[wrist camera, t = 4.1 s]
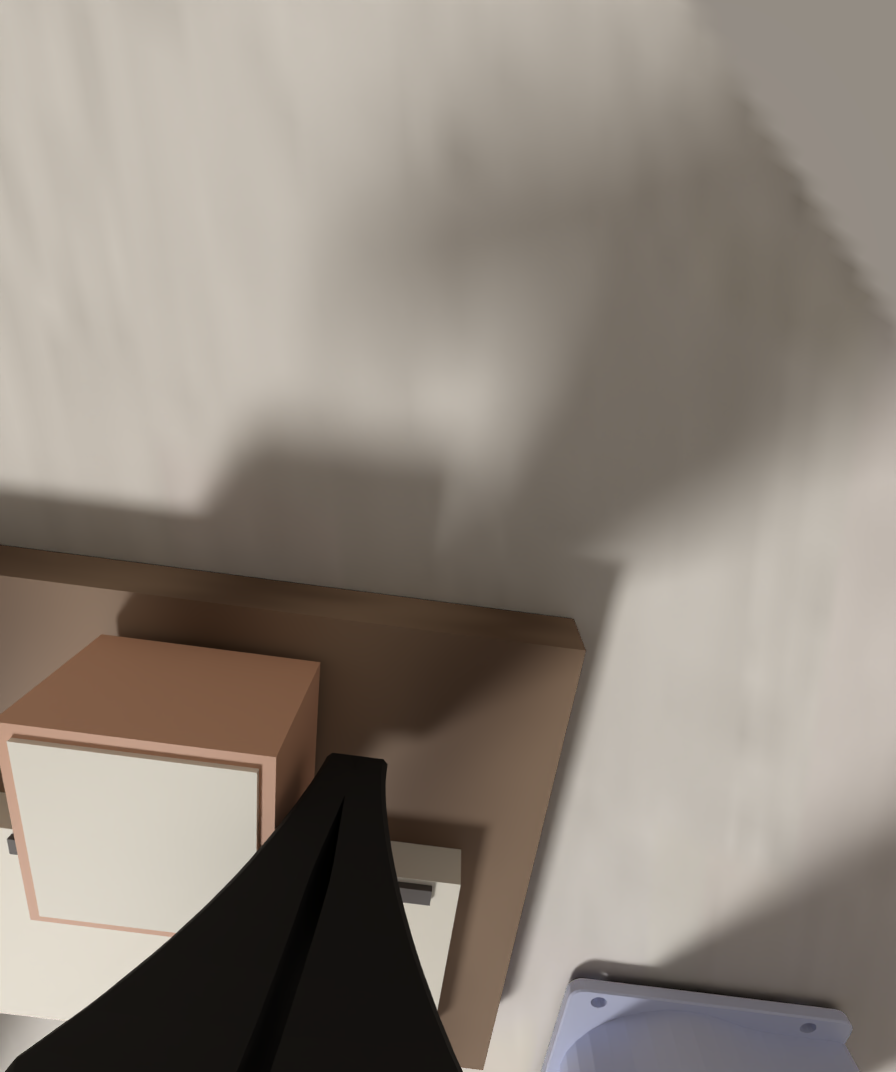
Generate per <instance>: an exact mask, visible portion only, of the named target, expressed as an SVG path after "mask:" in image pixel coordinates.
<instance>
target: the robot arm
mask: <svg viewBox="0 0 896 1072" xmlns="http://www.w3.org/2000/svg"><path fill="white" fill-rule="evenodd" d="M387 766H388V764H387V763H386V762H385V760H384V759H378V758H371V757H363V756H355V755H347V754H339V753H331V754H330V755H328V756H327V757H326V759H325V761H324V763H323V764H322V766H321V768H320V769H319V771H318V772H317V774H316V775H315V777H314V778H313V780H312V781H311V783H310V784H309V786H308V787H307V789H306V790H305V791H304V793H303V794H302V796H301V797H300V798H299V800H298V801H297V802H296V804H295V805H294V806H293V808H292V809H291V810H290V811H289V813H288V814H287V815H286V817H285V818H284V819H283V821H282V822H281V823H280V824H279V826H278V827H277V828H276V829H275V831H274V832H273V833H272V834H271V835H270V837H269V838H268V839H267V840H266V841H265V842H264V844H263V845H262V846H261V847H260V848H259V849H258V850H257V852H256V853H255V854H254V855H253V856H252V857H251V859H250V860H249V861H248V862H247V863H246V864H245V865H244V866H243V868H242V869H241V870H240V871H239V872H238V873H237V874H236V875H235V876H234V877H233V878H232V879H231V880H230V881H229V882H228V883H227V884H226V886H225V887H224V888H223V889H222V890H221V891H220V892H219V893H218V894H217V895H216V896H215V897H214V898H213V899H212V900H211V901H210V902H209V903H208V904H207V905H206V906H204V907H203V908H202V909H201V910H200V911H199V912H198V913H197V914H196V915H195V916H194V917H193V918H192V919H191V920H190V921H188V922H187V923H186V924H185V925H184V926H183V927H182V928H181V929H180V930H179V931H178V932H177V933H176V934H174V935H173V936H172V937H171V938H170V939H169V940H168V941H167V942H165V943H164V944H163V945H162V946H161V947H160V948H159V949H157V950H156V951H155V952H154V953H153V954H152V955H150V956H149V957H148V958H147V959H145V960H144V961H143V962H142V963H141V964H139V965H138V966H137V967H136V968H134V969H133V970H132V971H131V972H129V973H128V974H127V975H126V976H125V977H123V978H122V979H121V980H120V981H118V982H117V983H116V984H115V985H114V986H112V987H111V988H110V989H109V990H107V991H106V992H105V993H104V994H102V995H101V996H100V997H99V998H97V999H96V1000H95V1001H93V1002H92V1003H91V1004H89V1005H88V1006H87V1007H85V1008H84V1009H83V1010H81V1011H80V1012H79V1013H77V1014H76V1015H74V1016H73V1017H72V1018H70V1019H69V1020H67V1021H66V1022H65V1023H63V1024H62V1025H61V1026H59V1027H58V1028H56V1029H55V1030H54V1031H52V1032H51V1033H50V1034H48V1035H47V1036H45V1037H44V1038H43V1039H41V1040H40V1041H39V1042H37V1043H36V1044H34V1045H33V1046H32V1047H30V1048H29V1049H27V1050H26V1051H25V1052H23V1053H22V1054H20V1055H19V1056H18V1057H16V1059H15V1060H14V1061H13V1062H12V1063H11V1065H10V1066H9V1067H8V1068H7V1070H6V1071H5V1072H463V1071H462V1069H461V1067H460V1064H459V1062H458V1060H457V1057H456V1055H455V1053H454V1051H453V1048H452V1046H451V1043H450V1041H449V1038H448V1036H447V1033H446V1031H445V1028H444V1026H443V1024H442V1021H441V1019H440V1016H439V1014H438V1011H437V1008H436V1005H435V1002H434V1000H433V997H432V994H431V991H430V989H429V986H428V983H427V980H426V977H425V975H424V972H423V969H422V966H421V963H420V960H419V957H418V954H417V951H416V947H415V944H414V941H413V938H412V934H411V931H410V927H409V924H408V920H407V916H406V913H405V909H404V905H403V901H402V897H401V893H400V888H399V884H398V879H397V874H396V870H395V865H394V859H393V854H392V848H391V841H390V834H389V827H388V819H387V808H386V774H387ZM852 1029H853V1027H852V1025H851V1023H850V1021H849V1019H848V1018H847V1016H846V1014H845V1013H844V1012H842V1011H840V1010H837V1009H831V1008H823V1007H815V1006H807V1005H798V1004H790V1003H782V1002H774V1001H766V1000H758V999H749V998H741V997H733V996H725V995H717V994H709V993H701V992H692V991H684V990H676V989H668V988H660V987H652V986H643V985H635V984H627V983H619V982H611V981H603V980H594V979H586V978H578V979H574V980H573V981H571V982H570V983H569V984H568V986H567V988H566V991H565V994H564V998H563V1001H562V1004H561V1007H560V1011H559V1014H558V1017H557V1021H556V1024H555V1027H554V1030H553V1034H552V1037H551V1040H550V1043H549V1047H548V1050H547V1053H546V1056H545V1060H544V1063H543V1066H542V1069H541V1072H860V1071H859V1069H858V1067H857V1065H856V1063H855V1061H854V1060H853V1058H852V1056H851V1054H850V1052H849V1050H848V1048H847V1047H846V1045H845V1043H846V1041H847V1039H848V1038H849V1036H850V1035H851V1032H852Z"/></svg>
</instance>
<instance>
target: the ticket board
mask: <svg viewBox="0 0 896 1072" xmlns="http://www.w3.org/2000/svg"><path fill="white" fill-rule="evenodd" d="M101 634H104V635H112V636H119V637H127V638H135V639H143V640H151V641H159V642H166V643H174V644H182V645H190V646H198V647H206V648H213V649H221V650H229V651H237V652H245V653H253V654H260V655H268V656H276V657H284V658H292V659H300V660H307V661H315V662H320V678H319V697H318V716H317V735H316V755H315V774H314V777H315V775H316V774H317V772H318V771H319V769H320V768H321V766H322V764H323V763H324V761H325V759H326V757H327V756H328V755H330V754H331V753H339V754H347V755H355V756H363V757H371V758H378V759H384V760H385V762H386V763H387V764H388V766H387V774H386V808H387V819H388V827H389V834H390V841H391V848H392V854H393V859H394V865H395V870H396V874H397V879H398V884H399V888H400V893H401V897H402V901H403V905H404V909H405V913H406V916H407V920H408V924H409V927H410V931H411V934H412V938H413V941H414V944H415V947H416V951H417V954H418V957H419V960H420V963H421V966H422V969H423V972H424V975H425V977H426V980H427V983H428V986H429V989H430V991H431V994H432V997H433V1000H434V1002H435V1005H436V1008H437V1011H438V1014H439V1016H440V1019H441V1021H442V1024H443V1026H444V1028H445V1031H446V1033H447V1036H448V1038H449V1041H450V1043H451V1046H452V1048H453V1051H454V1053H455V1055H456V1057H457V1060H458V1062H459V1064H460V1067H462V1068H471V1069H479V1070H483V1068H484V1064H485V1060H486V1056H487V1052H488V1048H489V1044H490V1039H491V1035H492V1031H493V1027H494V1023H495V1019H496V1015H497V1011H498V1007H499V1003H500V999H501V995H502V991H503V986H504V982H505V978H506V974H507V970H508V966H509V962H510V958H511V954H512V950H513V946H514V942H515V938H516V934H517V929H518V925H519V921H520V917H521V913H522V909H523V905H524V901H525V897H526V893H527V889H528V885H529V881H530V877H531V872H532V868H533V864H534V860H535V856H536V852H537V848H538V844H539V840H540V836H541V832H542V828H543V824H544V819H545V815H546V811H547V807H548V803H549V799H550V795H551V791H552V787H553V783H554V779H555V775H556V771H557V767H558V762H559V758H560V754H561V750H562V746H563V742H564V738H565V734H566V730H567V726H568V722H569V718H570V714H571V709H572V705H573V701H574V697H575V693H576V689H577V685H578V681H579V677H580V673H581V669H582V665H583V661H584V657H585V652H586V649H585V647H584V644H583V642H582V639H581V637H580V634H579V631H578V629H577V626H576V624H575V621H574V619H570V618H562V617H554V616H546V615H539V614H531V613H523V612H515V611H508V610H500V609H492V608H484V607H477V606H469V605H461V604H453V603H446V602H438V601H430V600H422V599H415V598H407V597H399V596H391V595H384V594H376V593H368V592H360V591H353V590H345V589H337V588H329V587H322V586H314V585H306V584H298V583H291V582H283V581H275V580H267V579H260V578H252V577H244V576H236V575H229V574H221V573H213V572H205V571H198V570H190V569H182V568H174V567H167V566H159V565H151V564H143V563H136V562H128V561H120V560H112V559H105V558H97V557H89V556H81V555H74V554H66V553H58V552H50V551H43V550H35V549H27V548H19V547H12V546H4V545H0V714H1V713H3V712H4V711H5V710H6V709H8V708H9V707H10V706H11V705H13V704H14V703H15V702H17V701H18V700H19V699H20V698H22V697H23V696H24V695H25V694H27V693H28V692H29V691H30V690H32V689H33V688H34V687H36V686H37V685H38V684H39V683H41V682H42V681H43V680H44V679H46V678H47V677H48V676H49V675H51V674H52V673H53V672H55V671H56V670H57V669H58V668H60V667H61V666H62V665H63V664H65V663H66V662H67V661H68V660H70V659H71V658H72V657H73V656H75V655H76V654H77V653H79V652H80V651H81V650H82V649H84V648H85V647H86V646H87V645H89V644H90V643H91V642H92V641H94V640H95V639H96V638H98V637H99V636H100V635H101ZM170 938H171V937H167V936H159V935H151V934H143V933H135V932H127V931H118V930H110V929H102V928H94V927H86V926H78V925H69V924H61V923H53V922H45V921H37V920H31V919H30V914H29V909H28V904H27V899H26V894H25V889H24V884H23V879H22V874H21V869H20V864H19V859H18V854H17V849H16V844H15V839H14V834H13V829H12V824H11V818H10V813H9V808H8V803H7V798H6V793H5V788H4V783H3V778H2V773H1V768H0V1013H4V1014H12V1015H21V1016H29V1017H37V1018H46V1019H54V1020H62V1021H67V1020H69V1019H70V1018H72V1017H73V1016H74V1015H76V1014H77V1013H79V1012H80V1011H81V1010H83V1009H84V1008H85V1007H87V1006H88V1005H89V1004H91V1003H92V1002H93V1001H95V1000H96V999H97V998H99V997H100V996H101V995H102V994H104V993H105V992H106V991H107V990H109V989H110V988H111V987H112V986H114V985H115V984H116V983H117V982H118V981H120V980H121V979H122V978H123V977H125V976H126V975H127V974H128V973H129V972H131V971H132V970H133V969H134V968H136V967H137V966H138V965H139V964H141V963H142V962H143V961H144V960H145V959H147V958H148V957H149V956H150V955H152V954H153V953H154V952H155V951H156V950H157V949H159V948H160V947H161V946H162V945H163V944H164V943H165V942H167V941H168V940H169V939H170Z"/></svg>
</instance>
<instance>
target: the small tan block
mask: <svg viewBox="0 0 896 1072" xmlns="http://www.w3.org/2000/svg"><path fill="white" fill-rule="evenodd" d="M319 678H320V662H315V661H307V660H300V659H292V658H284V657H276V656H268V655H260V654H253V653H245V652H237V651H229V650H221V649H213V648H206V647H198V646H190V645H182V644H174V643H166V642H159V641H151V640H143V639H135V638H127V637H119V636H112V635H104V634H101V635H100V636H99V637H98V638H96V639H95V640H94V641H92V642H91V643H90V644H89V645H87V646H86V647H85V648H84V649H82V650H81V651H80V652H79V653H77V654H76V655H75V656H73V657H72V658H71V659H70V660H68V661H67V662H66V663H65V664H63V665H62V666H61V667H60V668H58V669H57V670H56V671H55V672H53V673H52V674H51V675H49V676H48V677H47V678H46V679H44V680H43V681H42V682H41V683H39V684H38V685H37V686H36V687H34V688H33V689H32V690H30V691H29V692H28V693H27V694H25V695H24V696H23V697H22V698H20V699H19V700H18V701H17V702H15V703H14V704H13V705H11V706H10V707H9V708H8V709H6V710H5V711H4V712H3V713H1V714H0V768H1V773H2V778H3V783H4V788H5V793H6V798H7V803H8V808H9V813H10V818H11V824H12V829H13V834H14V839H15V844H16V849H17V854H18V859H19V864H20V869H21V874H22V879H23V884H24V889H25V894H26V899H27V904H28V909H29V914H30V919H31V920H37V921H45V922H53V923H61V924H69V925H78V926H86V927H94V928H102V929H110V930H118V931H127V932H135V933H143V934H151V935H159V936H167V937H172V936H173V935H174V934H176V933H177V932H178V931H179V930H180V929H181V928H182V927H183V926H184V925H185V924H186V923H187V922H188V921H190V920H191V919H192V918H193V917H194V916H195V915H196V914H197V913H198V912H199V911H200V910H201V909H202V908H203V907H204V906H206V905H207V904H208V903H209V902H210V901H211V900H212V899H213V898H214V897H215V896H216V895H217V894H218V893H219V892H220V891H221V890H222V889H223V888H224V887H225V886H226V884H227V883H228V882H229V881H230V880H231V879H232V878H233V877H234V876H235V875H236V874H237V873H238V872H239V871H240V870H241V869H242V868H243V866H244V865H245V864H246V863H247V862H248V861H249V860H250V859H251V857H252V856H253V855H254V854H255V853H256V852H257V850H258V849H259V848H260V847H261V846H262V845H263V844H264V842H265V841H266V840H267V839H268V838H269V837H270V835H271V834H272V833H273V832H274V831H275V829H276V828H277V827H278V826H279V824H280V823H281V822H282V821H283V819H284V818H285V817H286V815H287V814H288V813H289V811H290V810H291V809H292V808H293V806H294V805H295V804H296V802H297V801H298V800H299V798H300V797H301V796H302V794H303V793H304V791H305V790H306V789H307V787H308V786H309V784H310V783H311V781H312V780H313V778H314V774H315V755H316V735H317V716H318V697H319Z"/></svg>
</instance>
